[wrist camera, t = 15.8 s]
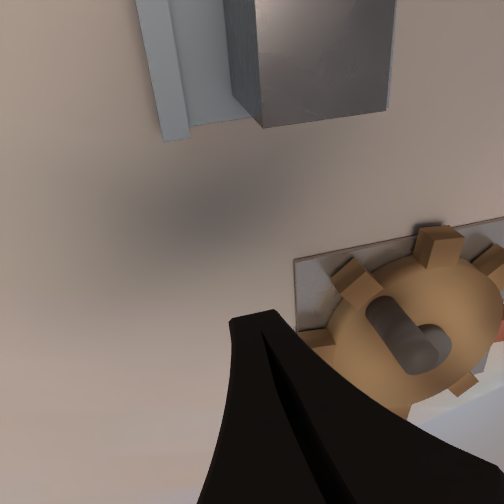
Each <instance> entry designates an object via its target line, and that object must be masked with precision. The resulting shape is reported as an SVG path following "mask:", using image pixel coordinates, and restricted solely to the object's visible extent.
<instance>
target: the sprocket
mask: <svg viewBox="0 0 504 504" xmlns="http://www.w3.org/2000/svg"><path fill="white" fill-rule="evenodd" d="M464 240H465V237H464V236H463V235H461V234H460V233H459V232H457V231H456V230H455V229H453V228H452V227H451V226H449V225H447V226H435V227H424V228H419V232H418V236H417V240H416V244H415V248H414V252H413V255H411V256H407V257H403V258H401V259H398V260H396V261H393V262H391V263H389V264H387V265H385V266H383V267H381V268H379V269H377V270H376V271H374V272H373V273H370V272H369V271H368V270H367V269H366V268H365V267H364V266H363V265H362V264H361V263H360V262H359V261H358V260H357V259H356V258H355V257H354V258H353V259H352V260H351V261H350V262H349V263H347V264H346V265H345V266H344V267H343V268H342V269H341V270H340V271H338V272H337V273H336V274H335V275H334V276H333V277H332V278H330V281H331V282H332V284H333V285H334V287H335V288H336V290H337V291H338V293H339V294H340V295H341V296H342V297H343V299H342V301H341V302H340V303H339V305H338V306H337V308H336V309H335V311H334V312H333V314H332V316H331V318H330V320H329V322H328V325H327V328H326V329H319V330H312V331H304V332H299V333H298V336H299V337H300V338H301V339H302V340H303V341H304V342H305V343H306V344H307V345H308V346H309V347H310V348H311V349H312V350H313V351H315V352H316V353H317V354H318V355H319V356H320V357H321V358H322V359H323V360H324V361H325V362H326V363H328V364H329V365H330V366H331V367H332V368H333V369H334V370H336V371H337V372H338V373H339V374H340V375H342V376H343V377H344V378H345V379H347V380H348V381H349V382H350V383H352V384H353V385H354V386H356V387H357V388H358V389H359V390H361V391H362V392H364V393H365V394H366V395H368V396H369V397H371V398H372V399H373V400H375V401H376V402H378V403H379V404H381V405H382V406H384V407H385V408H387V409H388V410H390V411H391V412H393V413H395V414H396V415H398V416H400V417H402V418H403V419H405V420H407V417H408V414H409V411H410V408H411V405H412V404H414V403H417V402H420V401H423V400H425V399H427V398H430V397H432V396H434V395H436V394H438V393H440V392H442V391H443V390H445V389H447V388H448V389H449V390H450V391H451V392H452V393H453V394H454V395H456V396H457V397H458V396H460V395H461V394H462V393H464V392H465V391H467V390H468V389H469V388H471V387H472V386H473V385H475V384H476V383H477V382H479V381H478V380H477V379H476V378H475V376H474V375H473V374H472V373H471V372H470V371H471V370H472V369H473V368H474V367H475V366H476V365H477V364H478V362H479V361H480V360H481V359H482V358H483V357H484V355H485V354H486V353H487V351H488V350H489V348H490V347H491V345H492V344H493V342H500V341H504V305H503V301H502V297H501V294H500V291H502V290H503V289H504V248H502V247H501V246H499V245H498V244H497V243H496V244H494V245H493V246H492V247H491V248H489V249H488V250H487V251H486V252H484V253H483V254H482V255H481V256H480V257H478V258H477V259H476V260H475V261H473V262H472V263H470V262H468V261H467V260H465V259H464V258H461V257H459V255H460V252H461V249H462V246H463V243H464Z"/></svg>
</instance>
